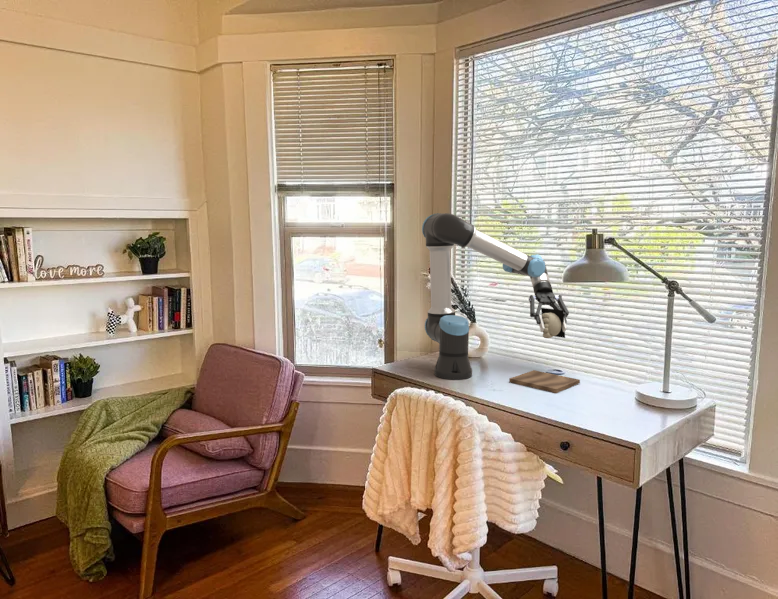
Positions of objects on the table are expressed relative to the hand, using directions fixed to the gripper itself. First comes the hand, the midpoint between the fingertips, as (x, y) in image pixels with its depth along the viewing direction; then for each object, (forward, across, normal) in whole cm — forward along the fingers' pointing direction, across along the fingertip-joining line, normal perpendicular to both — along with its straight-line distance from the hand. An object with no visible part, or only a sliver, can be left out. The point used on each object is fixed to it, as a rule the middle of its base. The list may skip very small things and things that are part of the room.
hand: (553, 330), depth 234 cm
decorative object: (+1, 0, -5) cm, 5 cm away
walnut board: (+22, +8, -4) cm, 23 cm away
